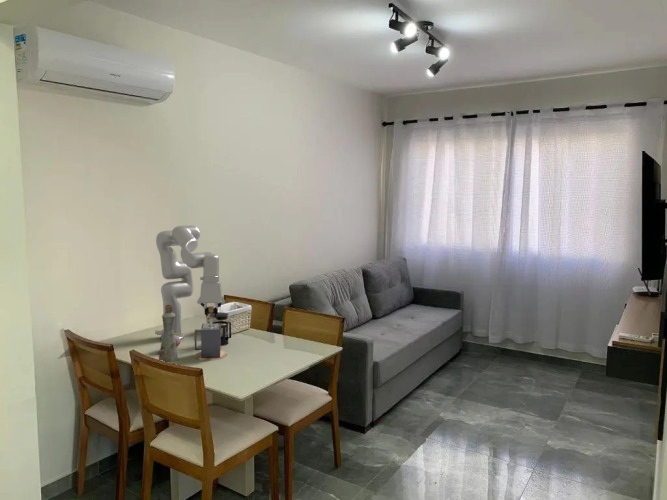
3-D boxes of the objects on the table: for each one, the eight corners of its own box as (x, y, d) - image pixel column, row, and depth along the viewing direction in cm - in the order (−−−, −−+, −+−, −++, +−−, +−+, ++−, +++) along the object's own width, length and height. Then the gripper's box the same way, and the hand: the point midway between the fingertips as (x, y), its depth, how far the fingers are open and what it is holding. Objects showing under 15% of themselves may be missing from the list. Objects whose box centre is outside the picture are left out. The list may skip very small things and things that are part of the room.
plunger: (204, 347, 250) (204, 308, 247) (205, 343, 256) (205, 305, 254) (217, 346, 251) (217, 308, 249) (217, 342, 257) (218, 305, 255)
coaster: (193, 362, 245) (193, 360, 245) (196, 351, 261) (196, 350, 260) (226, 361, 248) (226, 359, 248) (227, 351, 263) (227, 349, 263)
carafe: (194, 358, 248) (193, 328, 246) (195, 352, 257) (195, 323, 255) (219, 357, 250) (220, 328, 249) (220, 351, 259) (220, 323, 257)
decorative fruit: (175, 347, 267) (175, 328, 266) (182, 350, 262) (182, 332, 260) (158, 350, 261) (158, 331, 260) (165, 354, 255) (165, 335, 254)
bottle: (167, 365, 241) (167, 307, 237) (154, 361, 245) (154, 304, 242) (181, 360, 248) (181, 304, 245) (169, 356, 253) (168, 301, 249)
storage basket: (222, 338, 286) (222, 312, 284) (203, 332, 295) (203, 307, 294) (252, 329, 305) (253, 305, 303) (234, 324, 315) (234, 301, 313)
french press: (215, 349, 266) (215, 306, 263) (206, 344, 273) (206, 302, 270) (234, 344, 274) (235, 303, 271) (226, 340, 281) (226, 300, 278)
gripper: (193, 281, 244) (193, 318, 246) (228, 280, 247) (228, 317, 249) (194, 278, 252) (194, 314, 254) (228, 278, 255) (228, 313, 257)
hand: (211, 315), depth 252 cm, fingers closed on plunger, 3 cm apart
